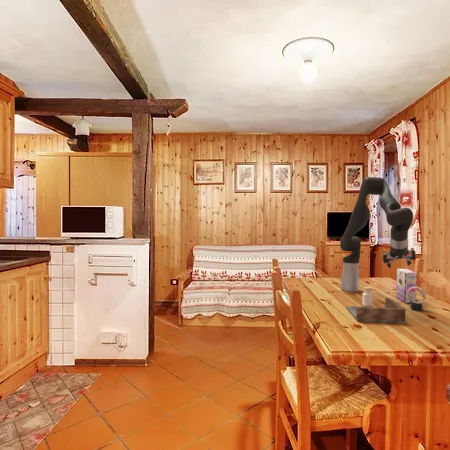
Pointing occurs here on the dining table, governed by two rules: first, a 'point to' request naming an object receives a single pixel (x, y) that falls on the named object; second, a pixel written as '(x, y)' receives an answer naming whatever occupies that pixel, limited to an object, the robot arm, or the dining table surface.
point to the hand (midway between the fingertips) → (398, 265)
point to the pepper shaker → (367, 297)
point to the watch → (416, 305)
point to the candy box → (406, 285)
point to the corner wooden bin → (379, 313)
